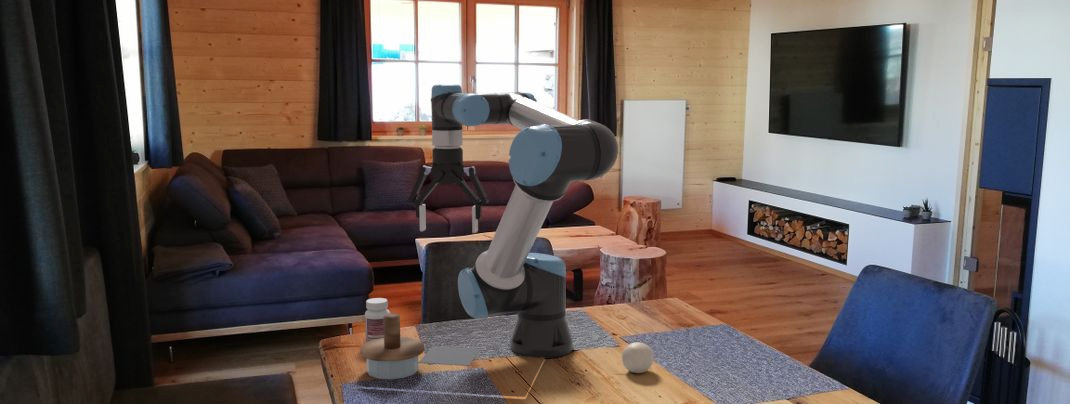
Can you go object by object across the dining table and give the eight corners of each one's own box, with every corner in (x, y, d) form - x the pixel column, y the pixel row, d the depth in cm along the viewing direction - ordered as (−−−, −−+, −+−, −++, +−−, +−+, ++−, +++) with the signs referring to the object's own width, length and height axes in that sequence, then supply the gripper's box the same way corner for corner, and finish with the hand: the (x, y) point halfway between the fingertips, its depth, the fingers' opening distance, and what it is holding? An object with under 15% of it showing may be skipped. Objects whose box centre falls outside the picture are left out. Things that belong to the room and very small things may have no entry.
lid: (432, 342, 196) (431, 309, 195) (412, 363, 183) (412, 326, 182) (373, 339, 199) (372, 306, 198) (350, 359, 185) (349, 323, 184)
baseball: (659, 370, 193) (660, 342, 192) (641, 379, 187) (642, 350, 186) (634, 364, 197) (635, 336, 196) (616, 372, 191) (616, 343, 190)
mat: (481, 350, 206) (481, 348, 206) (469, 367, 195) (469, 365, 195) (433, 348, 208) (433, 346, 208) (418, 364, 197) (418, 362, 197)
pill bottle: (395, 346, 210) (394, 301, 208) (371, 350, 207) (370, 305, 205) (385, 339, 215) (383, 295, 213) (361, 344, 212) (360, 299, 210)
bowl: (423, 365, 196) (423, 344, 195) (408, 382, 185) (408, 360, 184) (378, 362, 198) (377, 342, 197) (360, 379, 187) (359, 357, 186)
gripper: (499, 146, 214) (500, 229, 217) (404, 145, 218) (406, 226, 222) (493, 149, 207) (493, 235, 210) (394, 147, 211) (396, 232, 214)
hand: (448, 231), depth 216 cm, fingers open, 13 cm apart
